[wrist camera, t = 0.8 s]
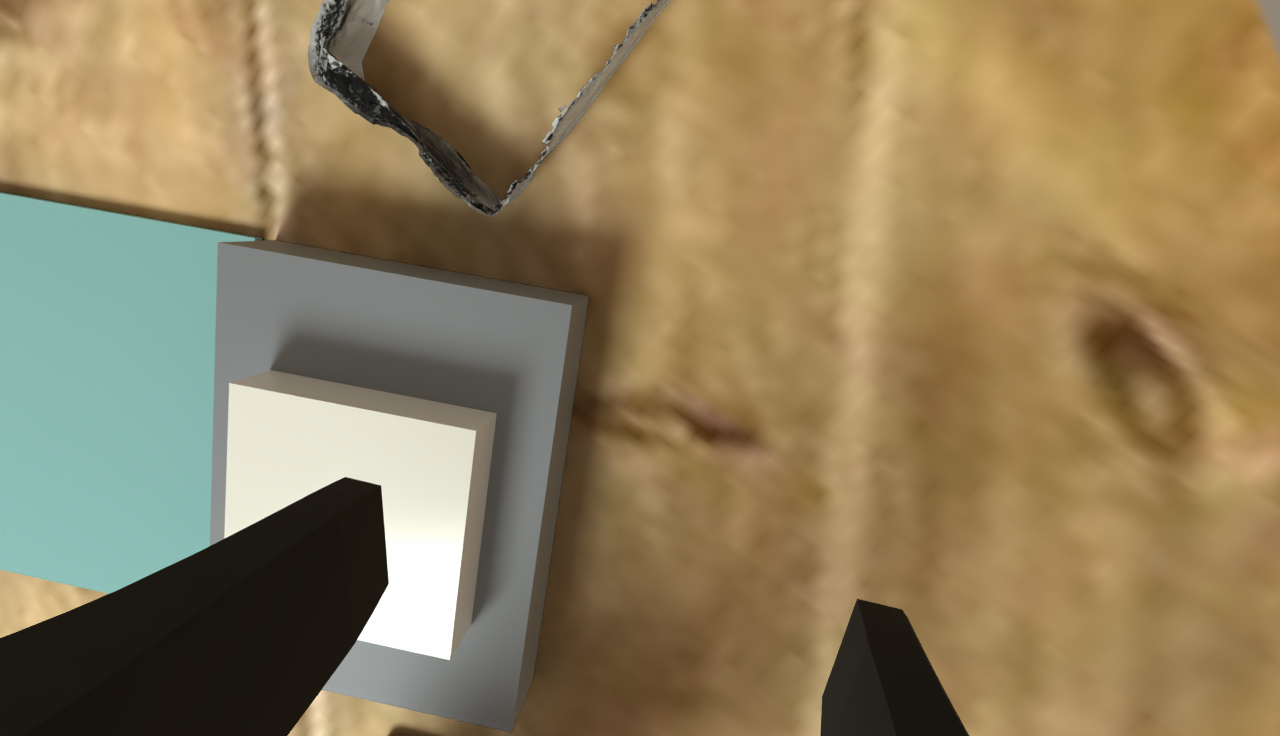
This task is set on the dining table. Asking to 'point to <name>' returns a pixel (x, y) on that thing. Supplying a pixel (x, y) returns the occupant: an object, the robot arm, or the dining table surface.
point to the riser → (437, 371)
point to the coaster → (380, 454)
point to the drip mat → (104, 391)
